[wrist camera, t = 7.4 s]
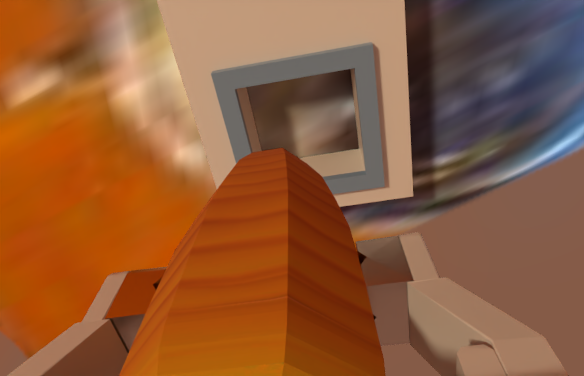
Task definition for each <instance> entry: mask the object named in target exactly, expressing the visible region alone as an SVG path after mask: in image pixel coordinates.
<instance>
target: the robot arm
mask: <svg viewBox="0 0 584 376" xmlns="http://www.w3.org/2000/svg"><path fill="white" fill-rule="evenodd" d="M356 250H357V255H358V259H359V262H360V266H361V269H362V273H363V276H364V280H365V284H366V288H367V292H368V296H369V300H370V304H371V309H372V313H373V317H374V321H375V325H376V329H377V333H378V338H379V342H380V346H382V345H394V344H404V343H410V345H411V346H412V347H413V348H414V349H415V350H416V351H417V352H418V353H419V354H420V355H421V356H422V357H423V358H424V359H425V360H426V361H427V362H428V363H429V364H430V365H431V366H432V367H433V368H434V369H435V370H436V371H437V372H438V373H439V374H440V375H441V376H569V375H568V374H567V372H566V371H565V369H564V367H563V366H562V364H561V363H560V361H559V360H558V358H557V356H556V355H555V353H554V351H553V350H552V348H551V347H550V345H549V344H548V342H547V340H546V339H545V337H544V336H543V335H541V334H539V333H537V332H536V331H534V330H533V329H531V328H529V327H528V326H526V325H524V324H523V323H521V322H519V321H518V320H516V319H514V318H513V317H511V316H510V315H508V314H506V313H505V312H503V311H501V310H500V309H498V308H497V307H495V306H493V305H492V304H490V303H488V302H487V301H485V300H483V299H482V298H480V297H478V296H477V295H475V294H474V293H472V292H470V291H469V290H467V289H465V288H464V287H462V286H460V285H459V284H457V283H455V282H454V281H452V280H450V279H449V278H447V277H445V278H440V276H439V274H438V272H437V269H436V267H435V265H434V263H433V260H432V258H431V256H430V253H429V251H428V249H427V247H426V244H425V242H424V239H423V237H422V235H421V234H420V233H419V232H416V233H409V234H403V235H398V236H394V237H387V238H380V239H373V240H365V241H358V242H356ZM166 268H167V267H161V268H152V269H143V270H134V271H126V272H118V273H112V274H110V275H109V276H107V278H106V280H105V282H104V283H103V285H102V287H101V289H100V290H99V292H98V294H97V296H96V298H95V299H94V301H93V303H92V305H91V306H90V308H89V310H88V312H87V314H86V315H85V317H84V319H83V321H82V322H81V323H75V324H74V325H73V326H71V327H70V328H69V329H67V330H66V331H65V332H63V333H62V334H61V335H59V336H58V337H57V338H56V339H54V340H53V341H52V342H50V343H49V344H48V345H46V346H45V347H44V348H42V349H41V350H40V351H39V352H37V353H36V354H35V355H33V356H32V357H31V358H29V359H28V360H27V361H25V362H24V363H23V364H22V365H20V366H19V367H18V368H16V369H15V370H14V371H12V372H11V373H10V374H9V375H7V376H119V375H120V372H121V370H122V368H123V365H124V363H125V360H126V358H127V356H128V353H129V351H130V349H131V346H132V344H133V342H134V339H135V337H136V335H137V332H138V330H139V328H140V325H141V323H142V321H143V318H144V316H145V314H146V311H147V309H148V307H149V304H150V302H151V300H152V298H153V296H154V294H155V292H156V290H157V287H158V285H159V283H160V281H161V279H162V277H163V275H164V273H165V270H166Z"/></svg>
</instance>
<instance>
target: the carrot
mask: <svg viewBox="0 0 584 376" xmlns="http://www.w3.org/2000/svg"><path fill="white" fill-rule="evenodd" d="M119 376H385V367H384V358H383V354H382V351H381V346H380V342H379V338H378V333H377V329H376V325H375V321H374V317H373V313H372V309H371V304H370V300H369V296H368V292H367V288H366V284H365V280H364V276H363V273H362V269H361V266H360V262H359V259H358V255H357V252H356V248H355V245H354V241H353V238H352V234H351V231H350V227H349V225H348V223H347V221H346V219H345V217H344V215H343V213H342V211H341V209H340V207H339V205H338V203H337V201H336V199H335V197H334V195H333V194H332V192H331V190H330V189H329V187H328V186H327V184H326V182H325V181H324V179H323V177H322V176H321V175H320V174H319V173H317V172H316V171H315V170H314V169H313V168H312V167H310V166H309V165H308V164H307V163H305V162H304V161H302V160H301V159H299V158H298V157H296V156H294V155H293V154H291V153H290V152H288V151H287V150H285V149H284V148H278V149H271V150H264V151H258V152H252V153H251V154H249V155H247V156H245V157H243V158H242V159H240V160H239V161H238V162H237V164H236V165H235V166H234V167H233V169H232V170H231V171H230V173H229V174H228V175H227V176H226V178H225V179H224V181H223V182H222V183H221V185H220V186H219V187H218V189H217V190H216V192H215V193H214V194H213V196H212V197H211V199H210V200H209V201H208V203H207V204H206V205H205V207H204V208H203V210H202V211H201V212H200V214H199V215H198V217H197V218H196V219H195V221H194V222H193V224H192V225H191V227H190V228H189V230H188V231H187V233H186V234H185V236H184V237H183V239H182V240H181V242H180V243H179V245H178V246H177V248H176V249H175V251H174V253H173V256H172V258H171V260H170V262H169V264H168V266H167V268H166V270H165V273H164V275H163V277H162V279H161V281H160V283H159V285H158V287H157V290H156V292H155V294H154V296H153V298H152V300H151V302H150V304H149V307H148V309H147V311H146V314H145V316H144V318H143V321H142V323H141V325H140V328H139V330H138V332H137V335H136V337H135V339H134V342H133V344H132V346H131V349H130V351H129V353H128V356H127V358H126V360H125V363H124V365H123V368H122V370H121V372H120V375H119Z"/></svg>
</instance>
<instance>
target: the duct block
mask: <svg viewBox="0 0 584 376" xmlns="http://www.w3.org/2000/svg"><path fill="white" fill-rule="evenodd" d="M157 2H158V5H159V9H160V12H161V15H162V18H163V21H164V24H165V27H166V31H167V34H168V37H169V40H170V43H171V46H172V49H173V53H174V56H175V59H176V62H177V65H178V68H179V71H180V75H181V78H182V81H183V84H184V87H185V90H186V93H187V96H188V100H189V103H190V106H191V109H192V112H193V115H194V118H195V122H196V125H197V128H198V131H199V134H200V137H201V140H202V144H203V147H204V150H205V153H206V156H207V159H208V162H209V166H210V169H211V172H212V175H213V178H214V181H215V184H216V187H217V189H218V187H219V186H220V185H221V183H222V182H223V181H224V179H225V178H226V176H227V175H228V174H229V173H230V171H231V170H232V169H233V167H234V166H235V165H236V164H237V162H238V161H239V160H240V159H242V158H243V157H245V156H247V155H249V154H251V153H252V152H258V151H262V150H261V146H260V141H259V137H258V133H257V129H256V125H255V121H254V117H253V113H252V108H251V104H250V100H249V96H248V92H247V88H246V87H250V86H256V85H261V84H267V83H273V82H279V81H284V80H290V79H296V78H301V77H307V76H313V75H318V74H324V73H330V72H335V71H341V70H347V69H350V71H351V80H352V89H353V98H354V106H355V115H356V124H357V133H358V142H359V149H355V150H348V151H342V152H335V153H329V154H322V155H316V156H309V157H303V158H299V159H301V160H302V161H304V162H305V163H307V164H308V165H309V166H310V167H312V168H313V169H314V170H315V171H316V172H317V173H319V174H320V175H321V176H322V177H323V179H324V181H325V182H326V184H327V186H328V187H329V189H330V190H331V192H332V194H333V195H334V197H335V199H336V201H337V203H338V205H339V207H342V206H349V205H356V204H363V203H370V202H377V201H384V200H391V199H398V198H405V197H413V180H412V157H411V135H410V113H409V91H408V69H407V46H406V24H405V2H404V0H157Z"/></svg>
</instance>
